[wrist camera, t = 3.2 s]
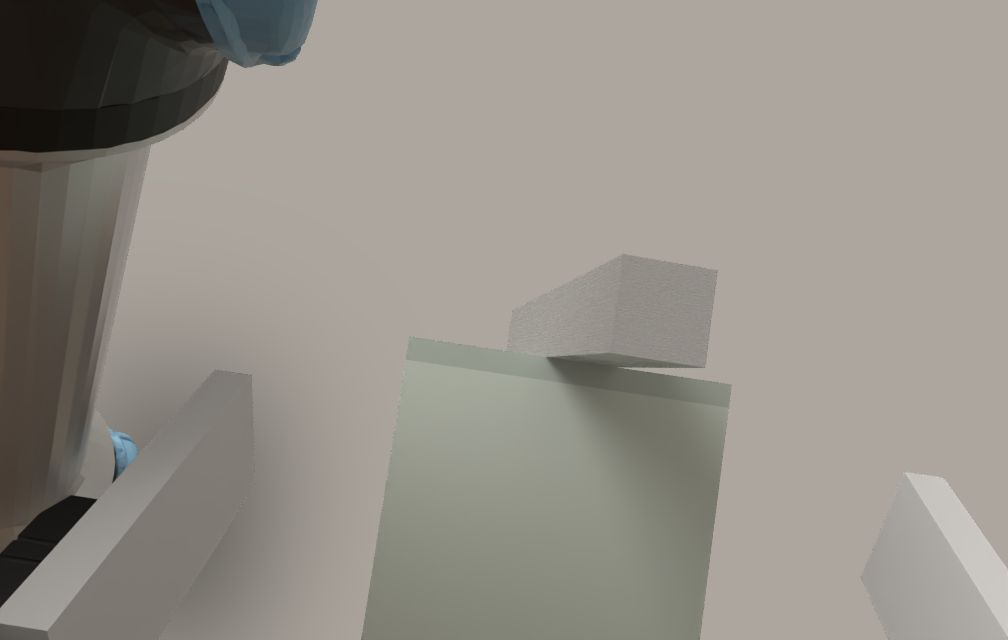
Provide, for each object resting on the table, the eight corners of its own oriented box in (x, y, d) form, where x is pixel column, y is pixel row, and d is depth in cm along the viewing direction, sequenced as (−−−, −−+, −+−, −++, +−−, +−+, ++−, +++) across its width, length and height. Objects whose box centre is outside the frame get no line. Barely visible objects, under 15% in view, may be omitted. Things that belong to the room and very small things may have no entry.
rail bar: (705, 367, 23) (717, 270, 24) (609, 352, 23) (622, 254, 23) (553, 366, 47) (560, 318, 47) (505, 359, 47) (512, 310, 47)
